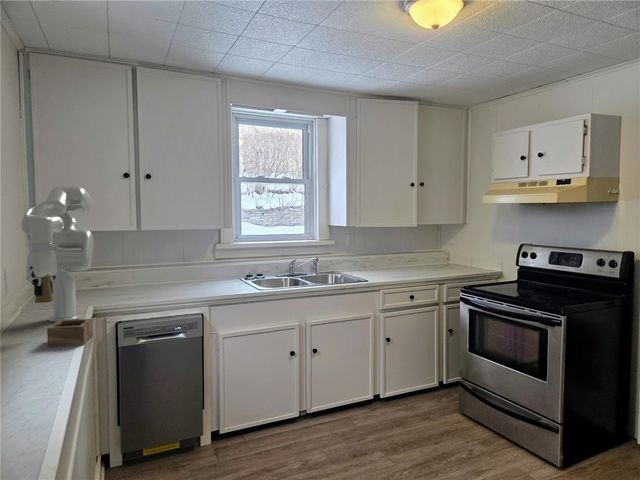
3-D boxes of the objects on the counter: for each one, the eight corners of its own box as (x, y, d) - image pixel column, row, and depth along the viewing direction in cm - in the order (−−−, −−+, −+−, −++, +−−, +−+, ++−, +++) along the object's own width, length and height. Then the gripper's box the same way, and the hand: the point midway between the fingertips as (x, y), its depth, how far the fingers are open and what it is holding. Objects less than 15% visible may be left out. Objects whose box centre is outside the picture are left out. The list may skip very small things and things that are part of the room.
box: (59, 337, 170) (58, 320, 169) (92, 336, 173) (92, 318, 172) (47, 347, 158) (47, 328, 158) (83, 345, 161) (83, 326, 161)
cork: (56, 299, 174) (55, 272, 173) (47, 302, 168) (46, 274, 167) (40, 299, 174) (39, 272, 173) (31, 302, 168) (30, 274, 167)
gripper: (51, 246, 178) (53, 290, 179) (14, 249, 162) (16, 298, 163) (67, 246, 176) (68, 291, 178) (30, 250, 160) (32, 299, 161)
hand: (43, 294), depth 170 cm, fingers closed on cork, 4 cm apart
